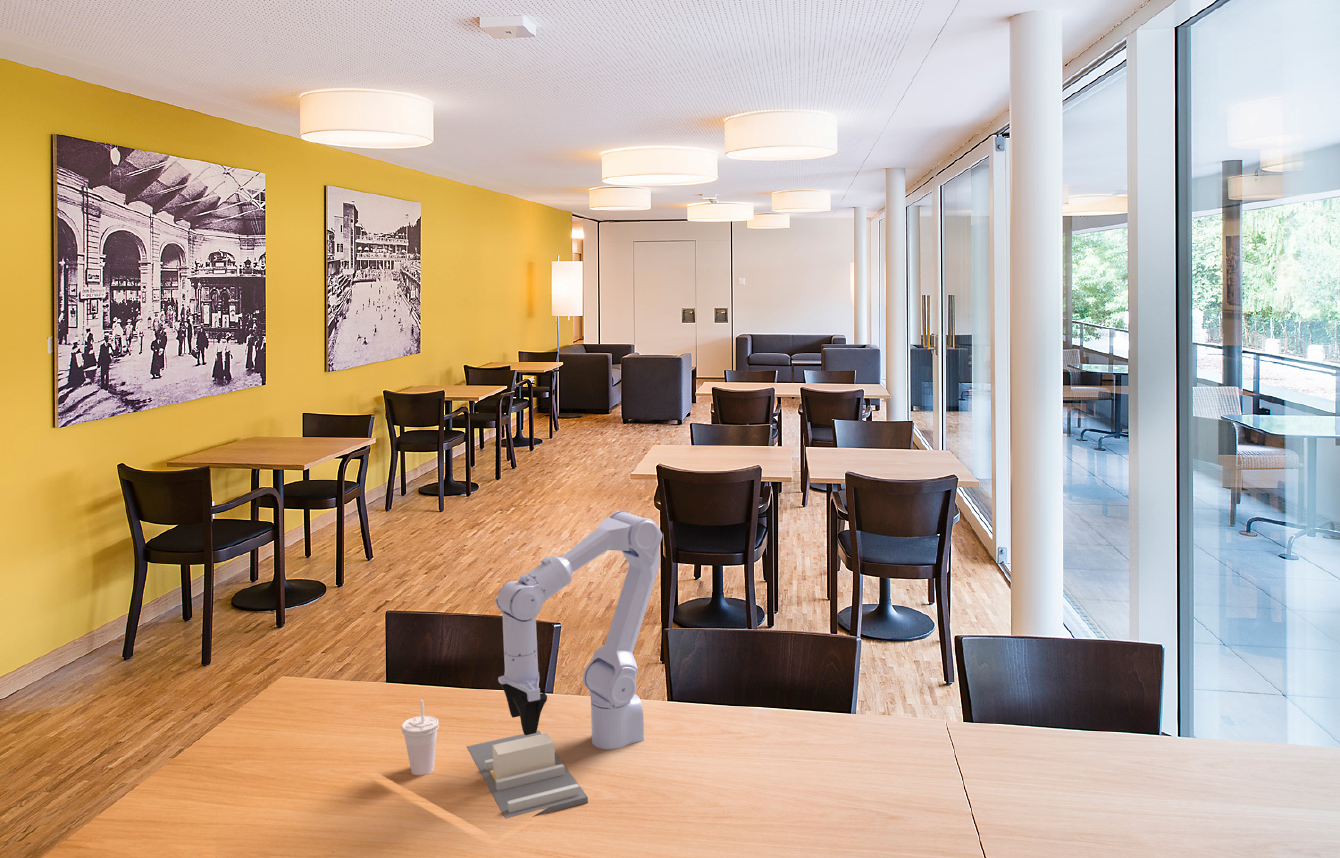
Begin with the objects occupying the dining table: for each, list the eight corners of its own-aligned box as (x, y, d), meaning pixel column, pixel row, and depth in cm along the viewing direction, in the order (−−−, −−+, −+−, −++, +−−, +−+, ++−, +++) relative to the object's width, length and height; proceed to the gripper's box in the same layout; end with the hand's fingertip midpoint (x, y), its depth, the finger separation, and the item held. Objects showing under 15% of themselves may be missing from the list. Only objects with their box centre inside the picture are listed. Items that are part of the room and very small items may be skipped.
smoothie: (431, 785, 158) (427, 709, 156) (397, 782, 159) (393, 706, 157) (447, 767, 164) (443, 693, 162) (414, 764, 165) (410, 691, 164)
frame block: (548, 759, 164) (547, 733, 164) (555, 769, 161) (554, 742, 160) (493, 772, 160) (492, 745, 159) (499, 782, 156) (498, 755, 156)
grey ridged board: (539, 735, 176) (538, 723, 176) (587, 802, 152) (587, 788, 151) (467, 751, 170) (466, 738, 170) (505, 824, 146) (505, 809, 145)
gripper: (487, 641, 163) (490, 713, 165) (509, 669, 150) (513, 747, 152) (525, 634, 166) (528, 705, 168) (550, 661, 153) (553, 737, 155)
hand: (523, 724), depth 160 cm, fingers open, 7 cm apart
